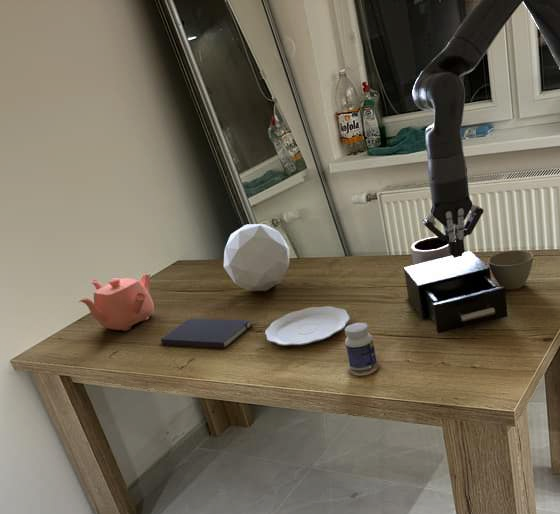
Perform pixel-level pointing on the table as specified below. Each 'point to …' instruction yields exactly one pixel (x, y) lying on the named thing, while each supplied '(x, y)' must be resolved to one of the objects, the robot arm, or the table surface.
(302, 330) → the plate
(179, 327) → the notebook
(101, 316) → the teapot
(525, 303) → the table surface
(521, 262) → the flower pot
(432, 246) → the planter
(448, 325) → the drawer
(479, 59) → the robot arm
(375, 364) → the pill bottle
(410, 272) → the cabinet
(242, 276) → the ball
